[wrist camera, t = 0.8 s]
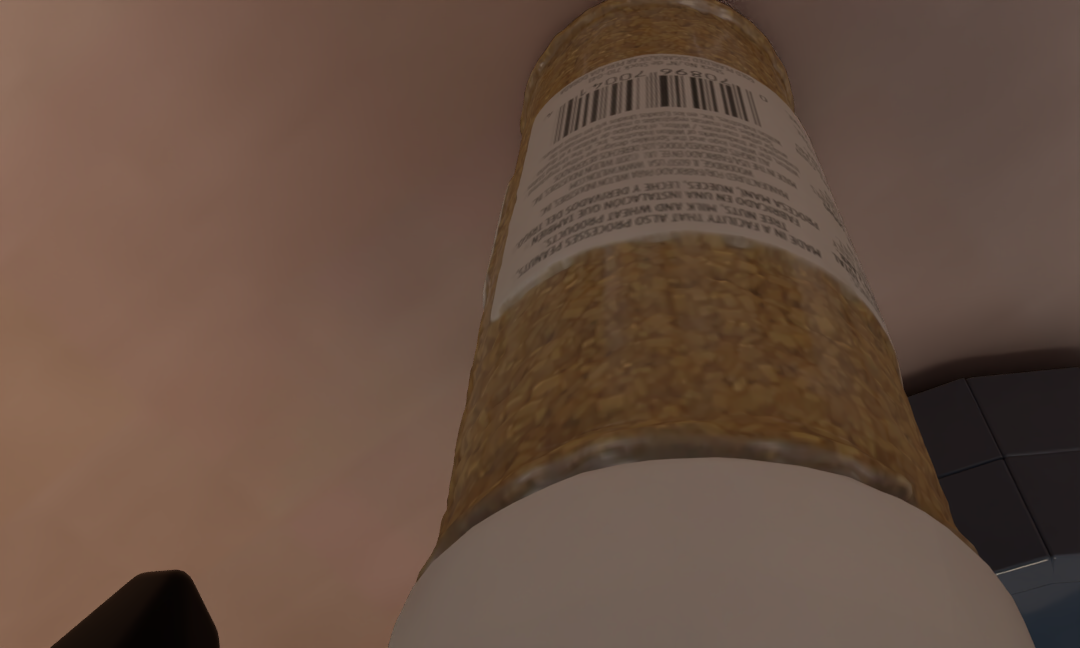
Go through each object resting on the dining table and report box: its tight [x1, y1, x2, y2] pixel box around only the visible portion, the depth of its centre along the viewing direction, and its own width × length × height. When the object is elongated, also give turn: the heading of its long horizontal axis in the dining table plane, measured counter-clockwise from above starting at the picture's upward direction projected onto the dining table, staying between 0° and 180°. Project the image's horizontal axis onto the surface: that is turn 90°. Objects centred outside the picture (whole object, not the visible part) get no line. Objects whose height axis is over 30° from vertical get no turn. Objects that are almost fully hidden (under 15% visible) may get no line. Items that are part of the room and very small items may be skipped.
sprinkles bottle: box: [388, 0, 1035, 648], centre depth 12 cm, size 5×5×14 cm
